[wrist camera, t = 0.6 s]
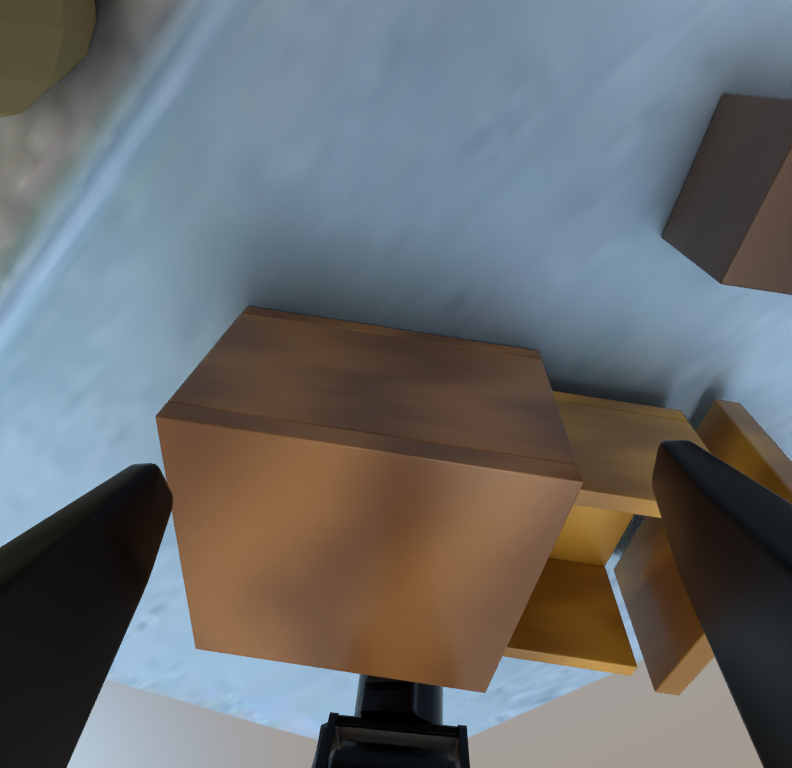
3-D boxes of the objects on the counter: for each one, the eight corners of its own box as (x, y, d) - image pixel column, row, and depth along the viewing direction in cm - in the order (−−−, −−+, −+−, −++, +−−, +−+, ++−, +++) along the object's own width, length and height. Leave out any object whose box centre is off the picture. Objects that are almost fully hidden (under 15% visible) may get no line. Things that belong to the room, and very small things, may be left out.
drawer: (832, 416, 22) (966, 536, 16) (703, 583, 29) (767, 709, 23) (466, 360, 22) (474, 461, 16) (423, 540, 29) (417, 656, 23)
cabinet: (539, 350, 23) (584, 482, 15) (475, 543, 30) (485, 693, 23) (246, 304, 23) (154, 416, 15) (254, 509, 30) (195, 649, 23)
